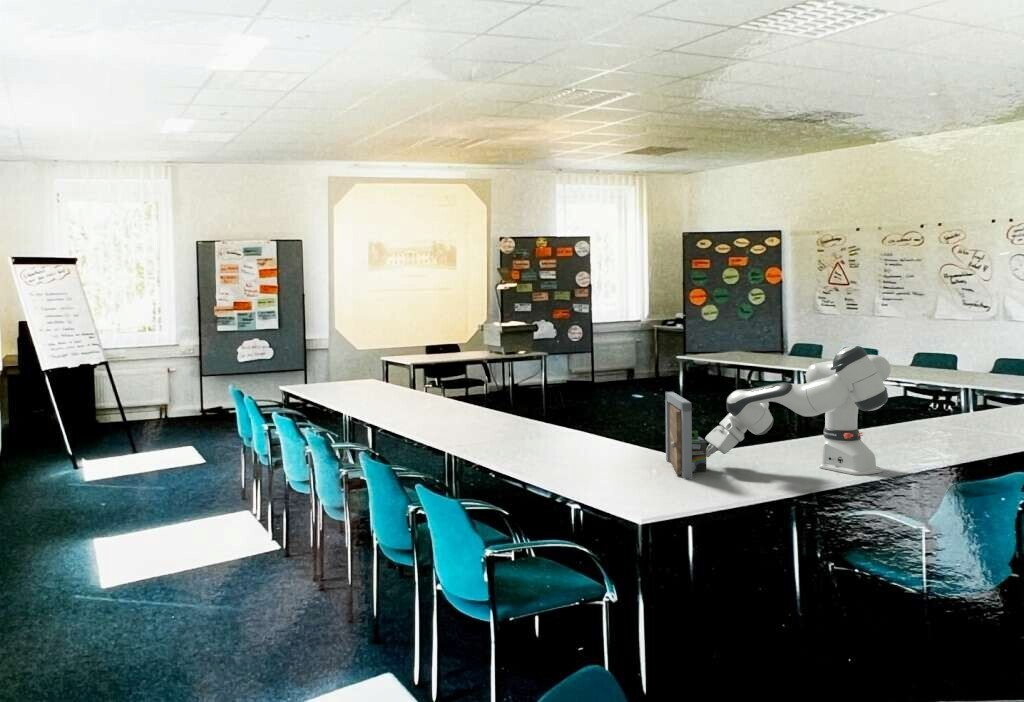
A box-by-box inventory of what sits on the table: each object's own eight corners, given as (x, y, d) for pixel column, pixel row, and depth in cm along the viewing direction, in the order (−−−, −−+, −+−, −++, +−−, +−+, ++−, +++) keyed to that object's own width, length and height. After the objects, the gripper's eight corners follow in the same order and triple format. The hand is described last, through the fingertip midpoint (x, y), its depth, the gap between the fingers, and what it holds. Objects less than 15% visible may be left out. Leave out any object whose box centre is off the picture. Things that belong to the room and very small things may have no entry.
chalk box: (700, 466, 308) (700, 427, 306) (707, 472, 298) (707, 432, 297) (676, 467, 307) (675, 428, 306) (682, 472, 298) (681, 432, 297)
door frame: (673, 459, 321) (672, 391, 319) (692, 478, 289) (691, 402, 287) (666, 460, 321) (665, 391, 319) (683, 478, 289) (682, 403, 287)
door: (674, 460, 316) (673, 402, 314) (681, 474, 293) (680, 411, 291) (665, 460, 316) (665, 402, 315) (672, 474, 293) (671, 411, 291)
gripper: (717, 418, 312) (692, 444, 312) (732, 427, 291) (705, 455, 292) (729, 429, 312) (704, 455, 313) (745, 439, 292) (718, 467, 292)
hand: (705, 455), depth 302 cm, fingers closed, pressing on chalk box
